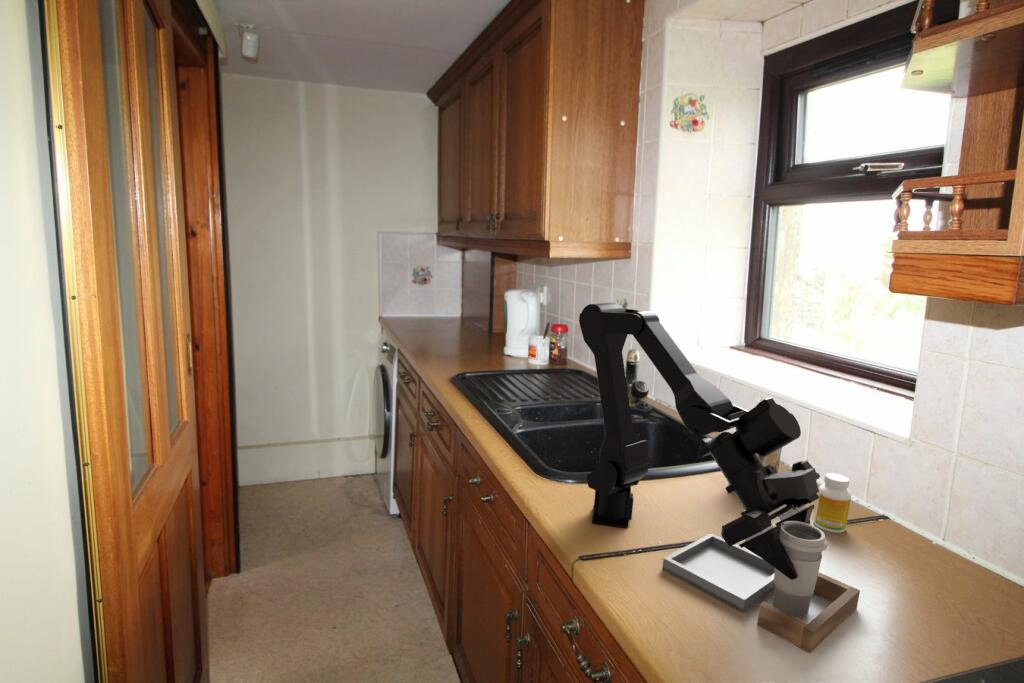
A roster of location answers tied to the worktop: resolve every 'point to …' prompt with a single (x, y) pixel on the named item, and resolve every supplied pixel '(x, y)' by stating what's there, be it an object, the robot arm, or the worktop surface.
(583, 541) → the worktop surface
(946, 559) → the worktop surface
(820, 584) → the cubby
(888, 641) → the worktop surface
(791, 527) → the cup
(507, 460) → the worktop surface
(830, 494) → the supplement bottle
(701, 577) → the tray
